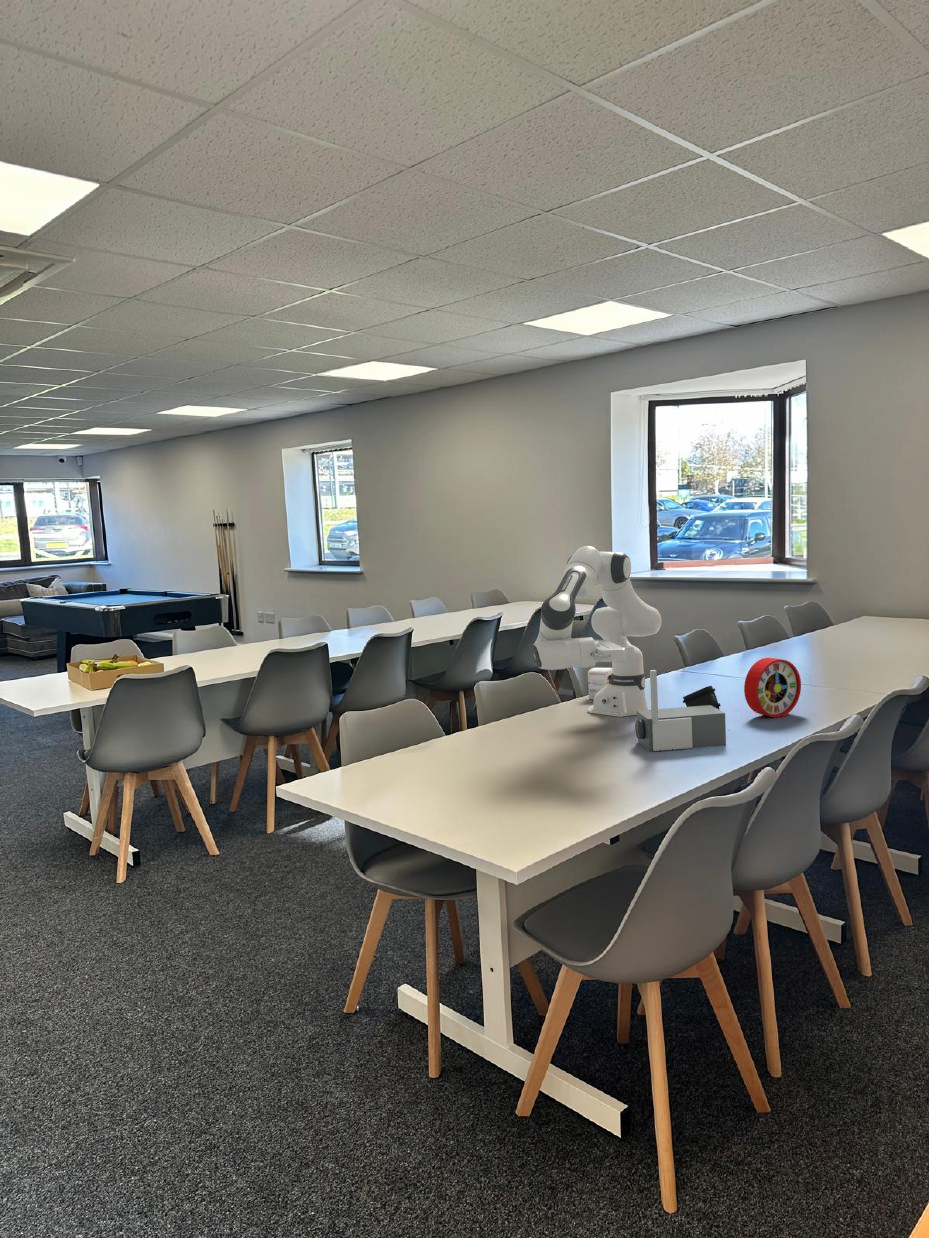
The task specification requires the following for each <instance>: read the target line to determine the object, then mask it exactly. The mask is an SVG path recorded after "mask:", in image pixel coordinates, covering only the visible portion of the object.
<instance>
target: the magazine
mask: <svg viewBox="0 0 929 1238" xmlns="http://www.w3.org/2000/svg"><path fill="white" fill-rule="evenodd" d="M715 691H716V687H715V688H713V686H712V685H708V686H704V687H703V688H701V689H698V690H696V691H694V692H691V693H689V694H687V695H685V696H683V697H682V698H683V700H682V703H683V704H684V705H685V707H693V706H706V705H711V706H713V707H715V708H717V709H719V710H720V711H721V709H720V707H721V706H722V705H721V703H719V702H718V699H717V698H718V697H717V695H716V693H715Z"/></svg>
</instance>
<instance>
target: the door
mask: <svg viewBox="0 0 929 1238" xmlns="http://www.w3.org/2000/svg"><path fill="white" fill-rule="evenodd" d="M657 672H658V671H657V670H656V669H650V670H649V682H650V683H649V684H650V685H649V686H650V687H649V688H650V689H649V690H650V708H651V709H650V710H651V715H652V737H653V751H652V752H660V750H661V751H670V750H671V751H672V749H673V750H683V749H684V748H686V749H693V748H692V718H678V719H666V720H658V709H659V704H658V703H659V702H658V677H657V676H658V675H657V674H658V673H657Z"/></svg>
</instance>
